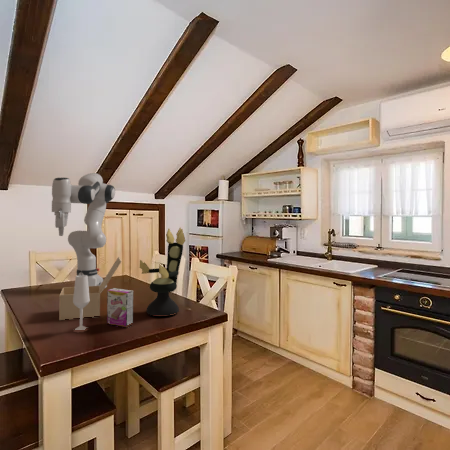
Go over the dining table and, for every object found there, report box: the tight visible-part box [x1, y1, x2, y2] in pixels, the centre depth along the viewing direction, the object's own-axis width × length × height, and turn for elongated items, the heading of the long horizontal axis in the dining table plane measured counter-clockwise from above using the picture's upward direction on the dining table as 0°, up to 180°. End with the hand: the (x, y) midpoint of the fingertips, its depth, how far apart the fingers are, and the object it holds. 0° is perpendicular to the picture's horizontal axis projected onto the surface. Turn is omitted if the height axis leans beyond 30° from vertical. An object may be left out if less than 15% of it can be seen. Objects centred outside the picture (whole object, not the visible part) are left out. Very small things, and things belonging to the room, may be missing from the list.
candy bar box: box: [106, 287, 134, 326], centre depth 148 cm, size 11×5×16 cm, turn 71°
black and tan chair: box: [139, 226, 186, 316], centre depth 168 cm, size 19×22×45 cm
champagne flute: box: [73, 275, 90, 330], centre depth 140 cm, size 7×7×24 cm
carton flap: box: [100, 256, 122, 294], centre depth 167 cm, size 18×16×1 cm
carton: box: [58, 286, 101, 321], centre depth 162 cm, size 18×16×12 cm
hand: (61, 235), depth 165 cm, fingers closed
